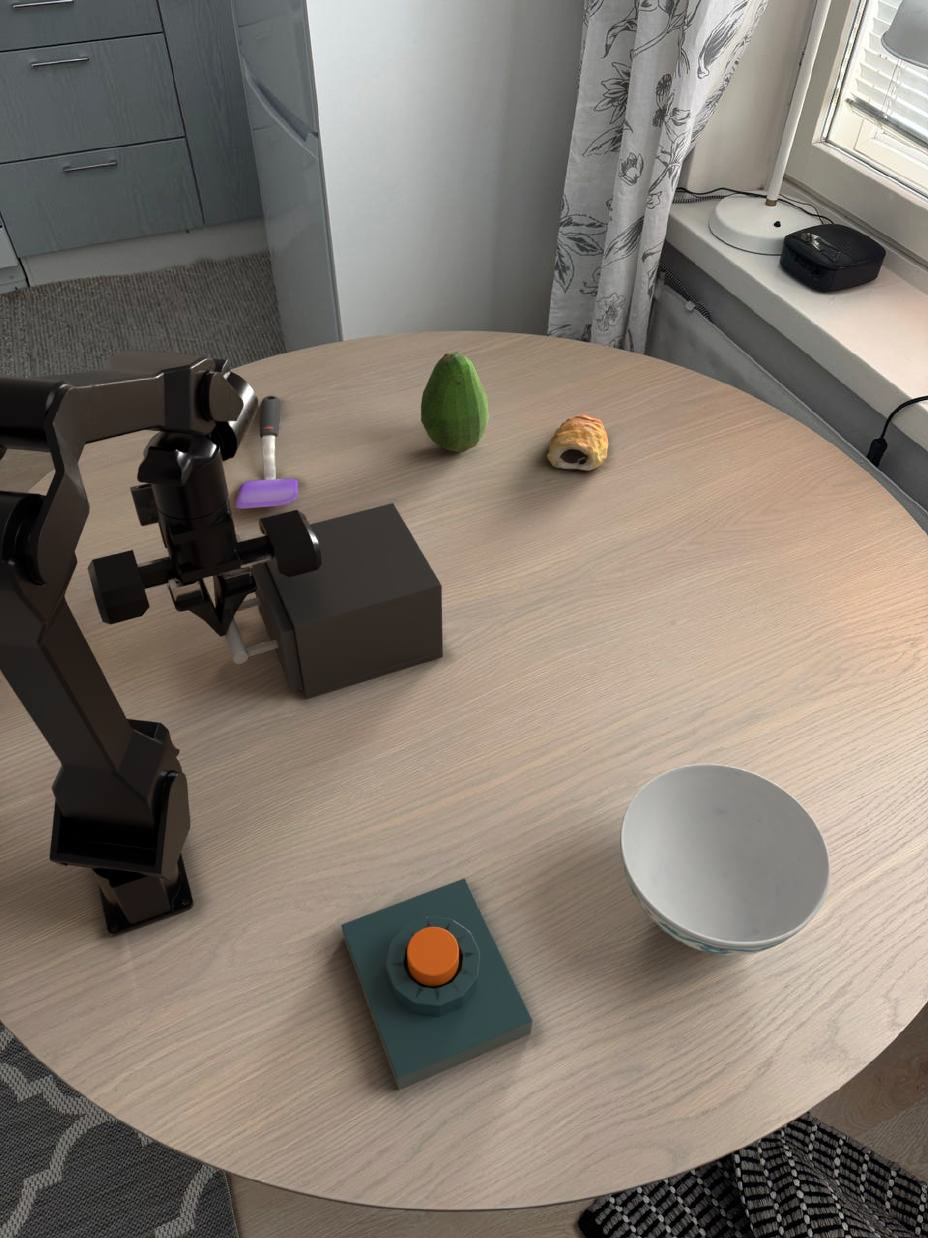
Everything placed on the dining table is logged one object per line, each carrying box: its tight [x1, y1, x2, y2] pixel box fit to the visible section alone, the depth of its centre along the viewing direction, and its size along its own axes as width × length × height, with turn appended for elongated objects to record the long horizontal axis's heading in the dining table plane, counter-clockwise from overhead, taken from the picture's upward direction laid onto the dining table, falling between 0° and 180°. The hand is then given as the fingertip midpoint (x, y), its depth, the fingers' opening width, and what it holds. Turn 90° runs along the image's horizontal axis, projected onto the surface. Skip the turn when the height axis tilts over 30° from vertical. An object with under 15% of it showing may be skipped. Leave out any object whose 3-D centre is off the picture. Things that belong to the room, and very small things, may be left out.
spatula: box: [234, 395, 299, 510], centre depth 117 cm, size 24×7×2 cm, turn 6°
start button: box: [407, 927, 459, 986], centre depth 70 cm, size 4×4×2 cm
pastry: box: [546, 414, 610, 471], centre depth 118 cm, size 9×7×4 cm
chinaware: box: [619, 763, 832, 956], centre depth 75 cm, size 15×15×8 cm
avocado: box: [420, 351, 490, 453], centre depth 115 cm, size 8×8×12 cm
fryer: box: [265, 502, 444, 700], centre depth 94 cm, size 14×13×10 cm
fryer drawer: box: [224, 563, 303, 693], centre depth 93 cm, size 17×11×8 cm
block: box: [341, 877, 533, 1091], centre depth 71 cm, size 12×10×4 cm
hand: (221, 632), depth 91 cm, fingers closed, pressing on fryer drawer
